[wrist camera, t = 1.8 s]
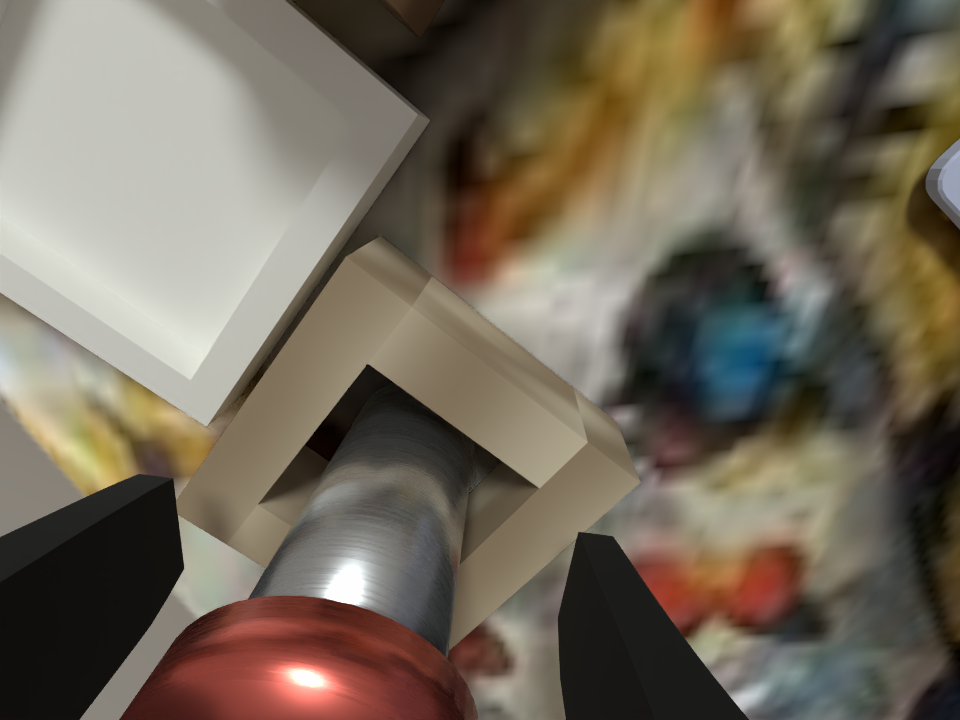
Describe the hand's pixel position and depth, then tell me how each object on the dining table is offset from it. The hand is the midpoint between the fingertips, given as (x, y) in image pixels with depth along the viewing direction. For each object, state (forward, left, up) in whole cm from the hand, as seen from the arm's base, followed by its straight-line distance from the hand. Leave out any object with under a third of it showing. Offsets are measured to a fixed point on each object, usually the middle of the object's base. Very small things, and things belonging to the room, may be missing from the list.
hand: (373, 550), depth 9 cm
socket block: (0, 0, -4) cm, 4 cm away
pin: (0, 0, -4) cm, 4 cm away
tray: (+8, -2, -4) cm, 9 cm away
